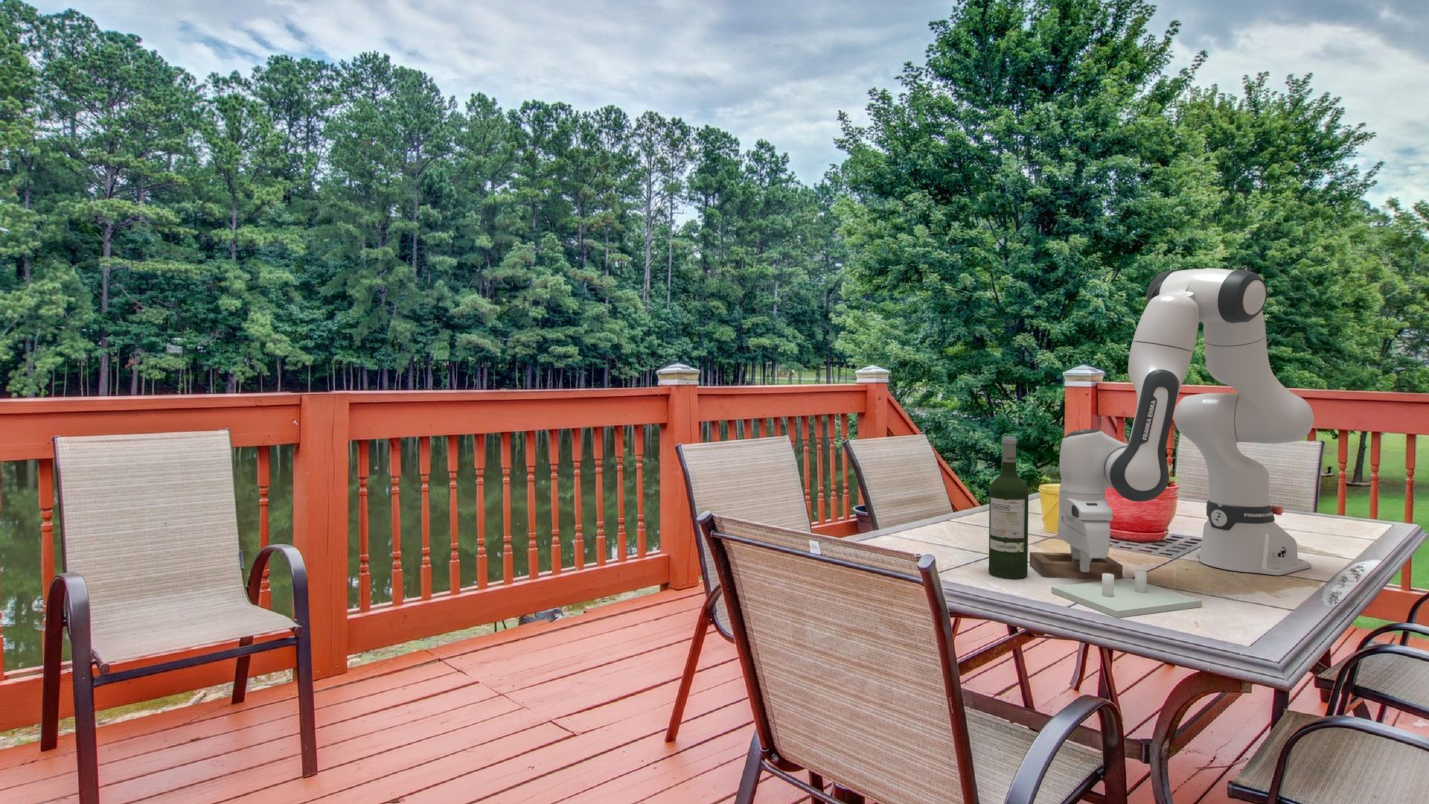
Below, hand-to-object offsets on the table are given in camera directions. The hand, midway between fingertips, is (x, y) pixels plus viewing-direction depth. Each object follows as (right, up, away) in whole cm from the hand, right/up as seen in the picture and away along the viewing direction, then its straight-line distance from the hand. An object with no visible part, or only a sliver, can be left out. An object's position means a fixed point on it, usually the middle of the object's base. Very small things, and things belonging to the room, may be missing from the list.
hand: (1080, 569), depth 159 cm
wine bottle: (-15, -2, +2) cm, 15 cm away
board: (0, -2, -16) cm, 16 cm away
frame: (0, -2, +4) cm, 4 cm away
